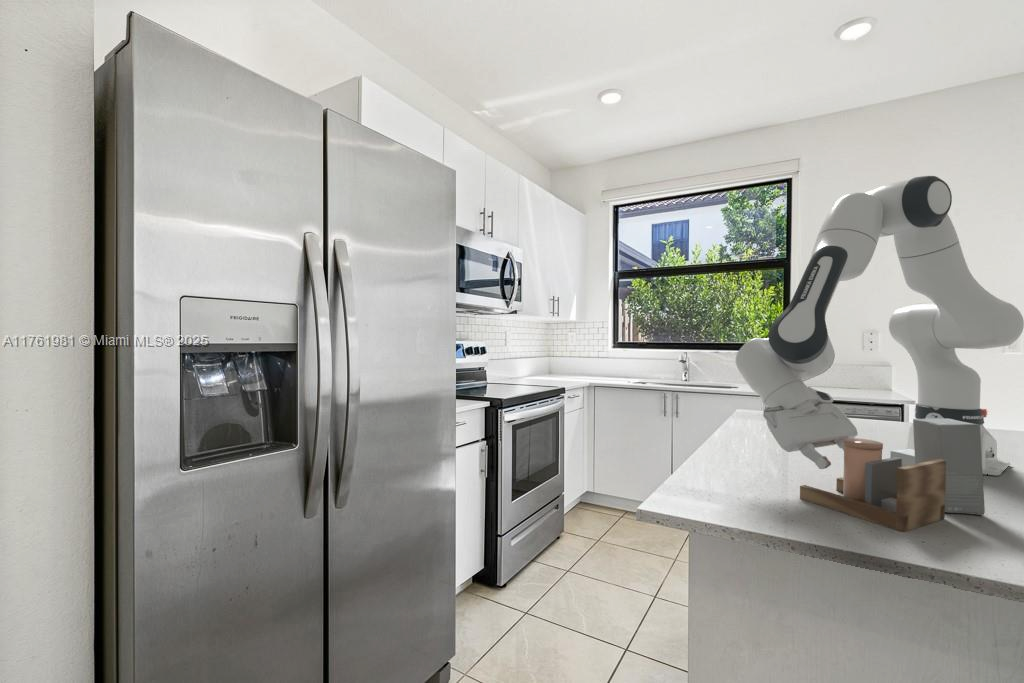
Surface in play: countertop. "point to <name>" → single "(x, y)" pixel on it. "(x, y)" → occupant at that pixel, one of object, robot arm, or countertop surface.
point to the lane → (914, 498)
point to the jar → (858, 465)
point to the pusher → (882, 483)
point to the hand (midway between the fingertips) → (841, 464)
